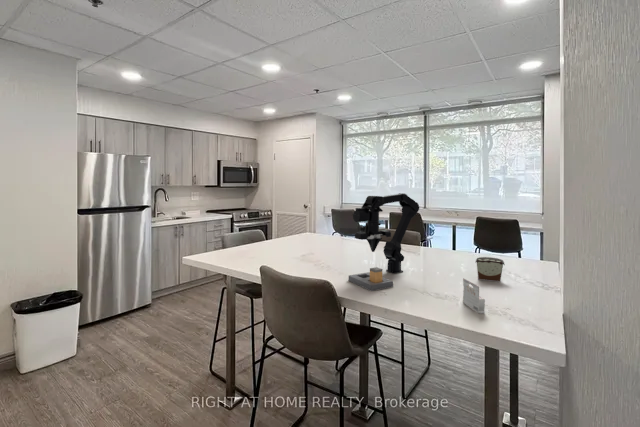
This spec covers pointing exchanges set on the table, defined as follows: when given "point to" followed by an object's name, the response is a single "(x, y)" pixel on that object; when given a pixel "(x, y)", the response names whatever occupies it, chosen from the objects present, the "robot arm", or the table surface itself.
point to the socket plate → (369, 282)
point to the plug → (376, 275)
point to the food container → (489, 268)
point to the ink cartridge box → (473, 297)
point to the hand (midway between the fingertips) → (373, 251)
